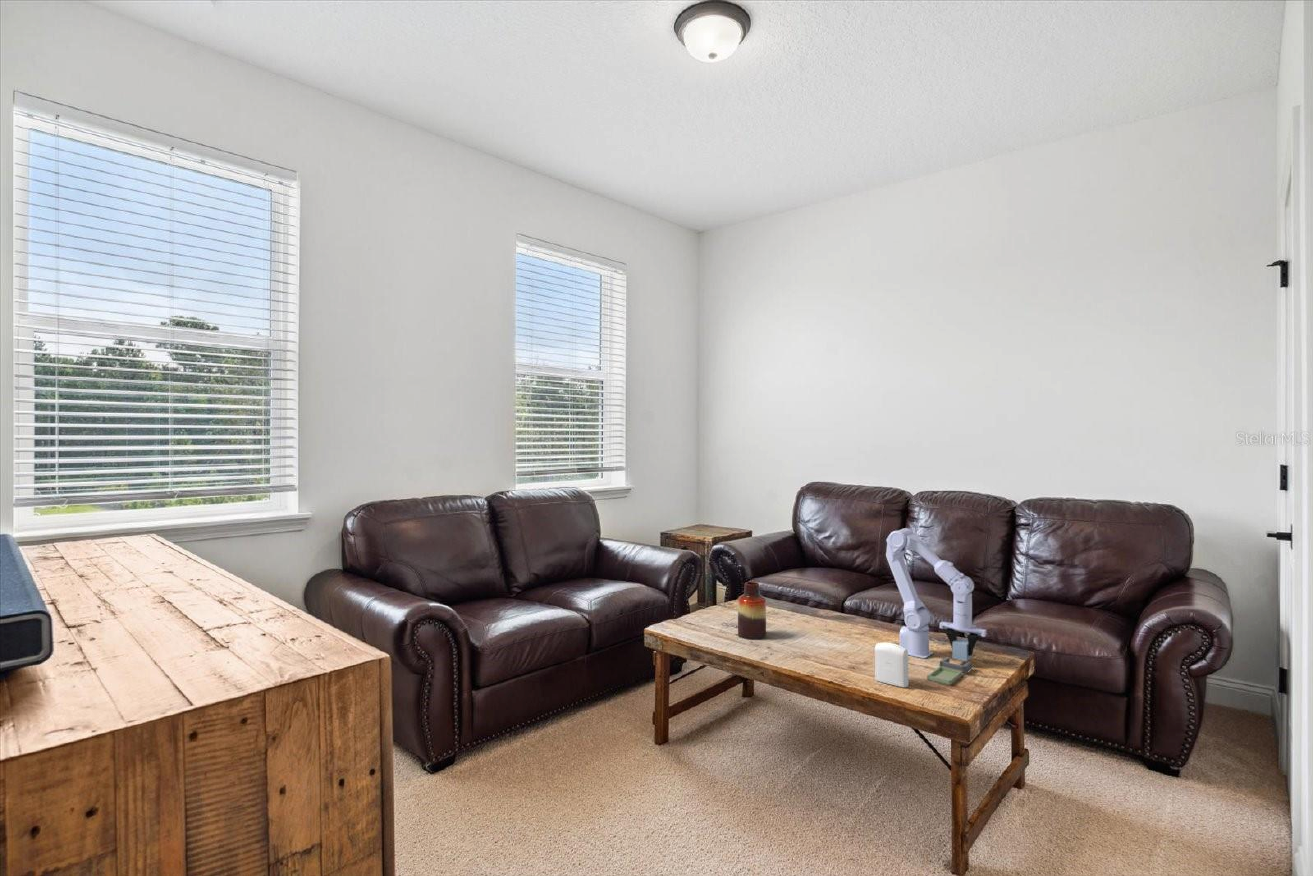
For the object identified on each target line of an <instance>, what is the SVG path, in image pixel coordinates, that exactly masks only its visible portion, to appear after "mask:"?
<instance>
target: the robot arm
mask: <svg viewBox="0 0 1313 876" xmlns="http://www.w3.org/2000/svg"><path fill="white" fill-rule="evenodd" d="M885 541H886V552H885V557H886V559H887V562H888V564H889V565H888V566H889V567H890V570H891V573H892V576H893V578H894V581H895V583H896V586H897V588H898V592H899V595H900V597H901V598H902V602H903V604H904V605H903V610H902V611H903V614H904V623H905V625H902V626H901V628H900V631H899V634H898V635H899V639H898V640H899V644H898V645H899V646H902V647H904V648H905V649H907V651H908V656H911V657H917V658H919V659H920V658H921V659H927V658H929V657H930V656H931V655H933V654H934V651H930V627H929V624H930V623H931V621H932V614H931V612H930V611H929V610H928V608H927V607H926V606H925V604H924V602H923V601H922V600H921V599H920V598H919V596H918V593H917V590H916V588H915V585H914V583H913V580H912V578H911V575H910V572H909V570H908V567H907V565H906V562H905V559H904V555H905V554H906V552H907V551H914V552H916V553H917V554H919V555H920V556H921V557H922V558H923V559H924V560H925V561H926V562H928V563H929V564H931V565H932V567H933V568H934V570H933V571H934V573H935V574H936V575H938V576H939V577H940V578H941V579H942V580H943V582H945V583H946V584H947V585H948V586H949V587H950V591H951V592H952V594H953V604H952V605H953V614H952V615H953V621H952V622H946V621H940V622H939V629H941V630H943V629H945V630H946V631H945V635H946V637H947V638H948V641H949V644H950V646H951V648H952V642H953V641H955V640H956V639H958V632H960V633H966V634H968V635H967V636H966V637H967V639H968V646H969V647H968V655H969V656H971V655H972V656H973V653H974V648H975V647H976V646H975V645H976V644H977V641H978V639H979V637H980V636H981V637H982V638H983V637H984V638H985V637H986V636H987V629H984V628H979V627H977V626H974V625H973V599H972V598H973V594H972V592H973V591H974V589H975V583H974V581H973V580H972V579H971V577H969V576H967V575H965V574H964V573H963V572H960V571H959V570H958V569H957V568H956V567H955V566H954V563H953V562H952V561H948V560H943V559H940V557H939V556H938V555H937V554H936V553H934V551H933V550H932V549H931V548H930V547H929V546H928V545H927V544H926V543H925V542H924V541H923V540H922V539H921V538H920V536H919V535H918V534H916V533H915V532H914V531H913V530H912V529H910V528H907V527H905V528H901V529H898V530H894V531H891V532H890V534H889V535H888V536H887V538H886V540H885Z"/></svg>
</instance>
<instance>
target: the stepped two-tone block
mask: <svg viewBox="0 0 1313 876" xmlns="http://www.w3.org/2000/svg"><path fill="white" fill-rule="evenodd" d="M968 647H969V646H968V638H965V637H963V638H958V637H957V639H956V640H955V641H953V642H952V647H951V650H952V655H951V657H952V659H953V660H958V661H962V662H965V663H967V662H968V661H969V660H971V659H972V658H973V654H972V655H971V656H969V655H968Z"/></svg>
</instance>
